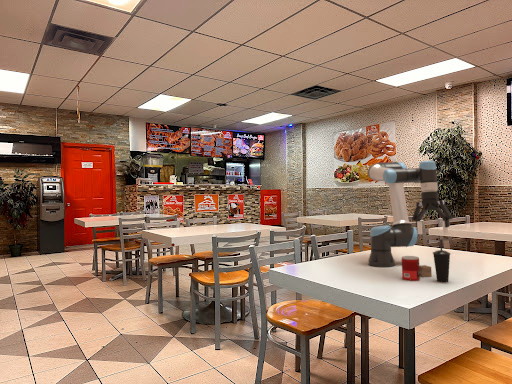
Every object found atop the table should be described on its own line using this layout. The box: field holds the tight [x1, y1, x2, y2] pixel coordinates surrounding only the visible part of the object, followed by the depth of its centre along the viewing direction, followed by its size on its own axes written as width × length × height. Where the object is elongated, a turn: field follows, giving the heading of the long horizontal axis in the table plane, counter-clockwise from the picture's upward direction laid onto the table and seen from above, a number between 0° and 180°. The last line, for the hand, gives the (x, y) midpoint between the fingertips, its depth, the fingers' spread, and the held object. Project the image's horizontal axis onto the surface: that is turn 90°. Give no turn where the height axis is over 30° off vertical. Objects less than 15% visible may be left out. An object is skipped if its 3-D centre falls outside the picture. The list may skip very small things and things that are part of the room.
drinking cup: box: [432, 239, 451, 283], centre depth 171 cm, size 8×8×20 cm
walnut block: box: [419, 264, 433, 278], centre depth 183 cm, size 5×5×5 cm
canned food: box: [401, 255, 421, 282], centre depth 177 cm, size 8×8×11 cm
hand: (432, 234), depth 176 cm, fingers open, 13 cm apart
